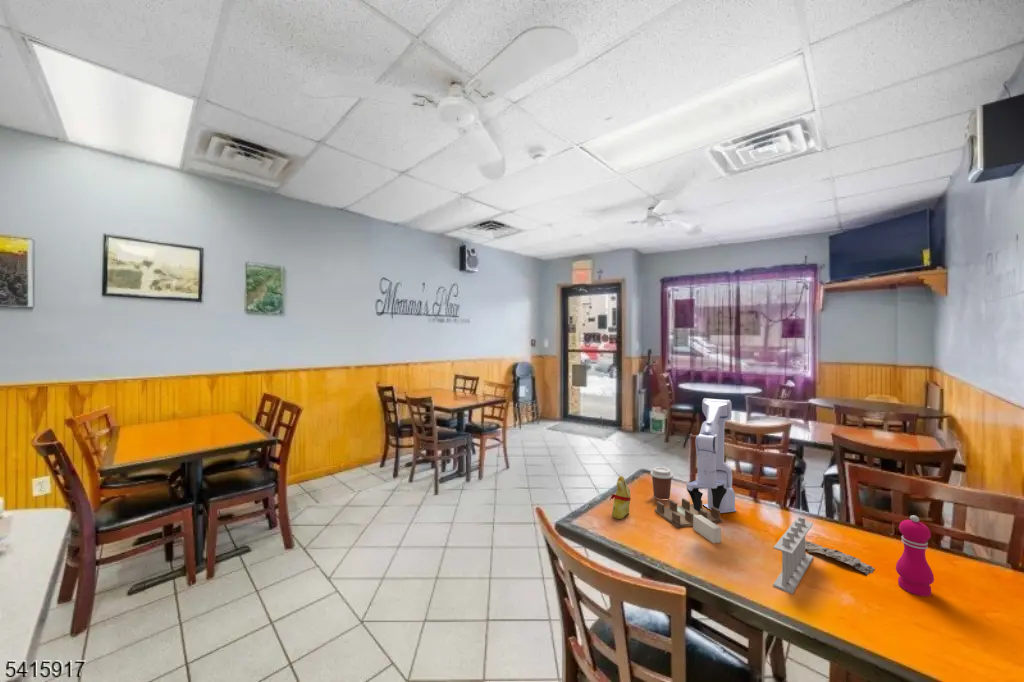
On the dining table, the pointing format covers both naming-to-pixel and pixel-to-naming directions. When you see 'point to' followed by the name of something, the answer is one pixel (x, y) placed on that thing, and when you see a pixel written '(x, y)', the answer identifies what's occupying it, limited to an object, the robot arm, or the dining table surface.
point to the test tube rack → (793, 555)
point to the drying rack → (685, 513)
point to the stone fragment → (839, 557)
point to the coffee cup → (661, 482)
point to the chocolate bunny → (621, 499)
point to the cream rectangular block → (707, 528)
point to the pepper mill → (914, 558)
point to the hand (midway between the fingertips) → (706, 508)
